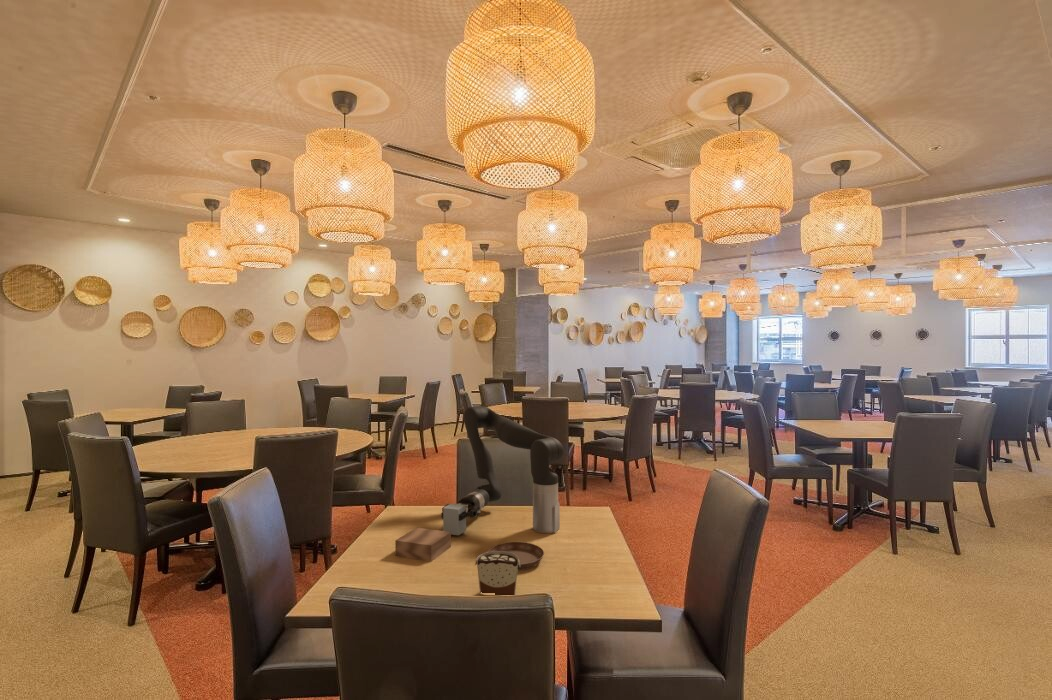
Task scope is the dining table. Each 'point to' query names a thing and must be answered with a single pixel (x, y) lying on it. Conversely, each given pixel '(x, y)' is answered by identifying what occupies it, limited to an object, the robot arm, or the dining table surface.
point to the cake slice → (497, 572)
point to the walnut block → (423, 544)
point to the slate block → (454, 519)
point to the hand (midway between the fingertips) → (451, 516)
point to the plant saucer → (522, 553)
